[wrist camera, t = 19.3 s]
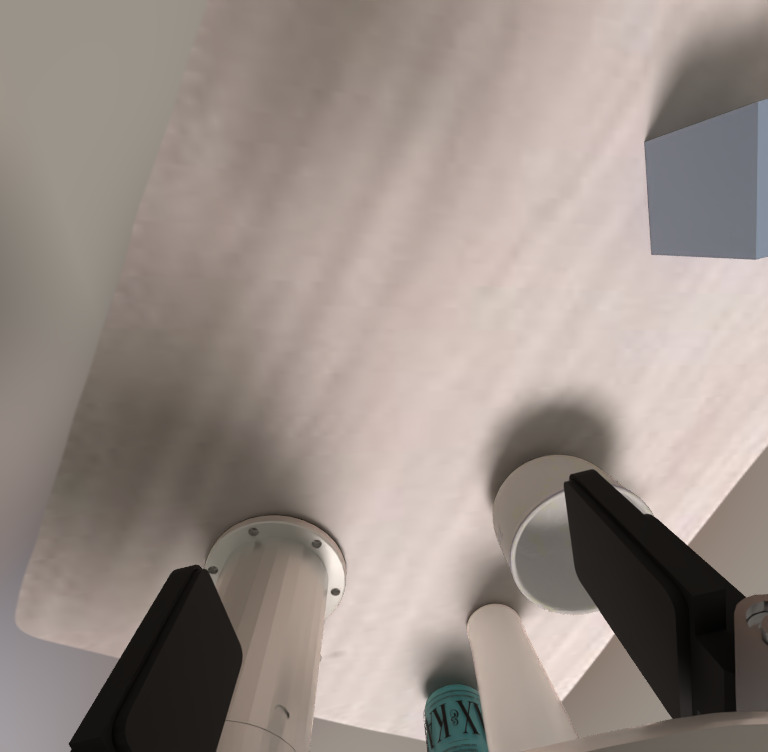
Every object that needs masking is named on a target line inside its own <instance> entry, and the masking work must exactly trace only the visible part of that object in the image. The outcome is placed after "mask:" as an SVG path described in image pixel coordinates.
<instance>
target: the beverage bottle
mask: <svg viewBox="0 0 768 752" xmlns="http://www.w3.org/2000/svg"><path fill="white" fill-rule="evenodd" d="M424 711H425V715H424V714H423V717H425V721H424V722H426V723H425V724H426V727H425V728H426V729H425V735H427V738H426V743H427V744H428V747H427V752H488V746H487V741H486V735H485V728H484V722H483V716H482V710H481V704H480V698H479V692H478V691H477V690H475V689H474V688H472V687H469V686H466V685H459V684H454V685H448V686H444V687H442V688H439V689H438V690H436V691H435V692H433V693H432V694H431V695H430V696H429V698H428V700H427V702H426V706H425V710H424ZM425 724H424V725H425ZM426 730H427V734H426Z"/></svg>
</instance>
